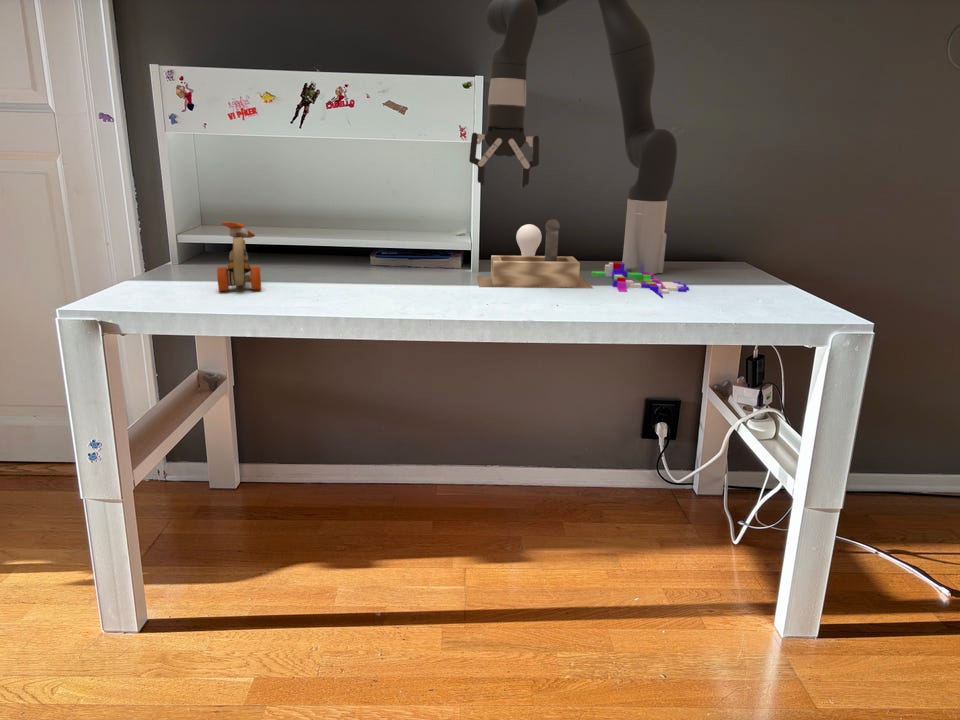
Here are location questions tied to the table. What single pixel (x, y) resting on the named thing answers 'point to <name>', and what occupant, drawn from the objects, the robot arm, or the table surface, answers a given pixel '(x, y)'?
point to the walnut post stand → (550, 255)
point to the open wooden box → (534, 271)
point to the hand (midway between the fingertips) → (502, 186)
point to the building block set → (644, 277)
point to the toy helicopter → (238, 261)
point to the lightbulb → (528, 239)
